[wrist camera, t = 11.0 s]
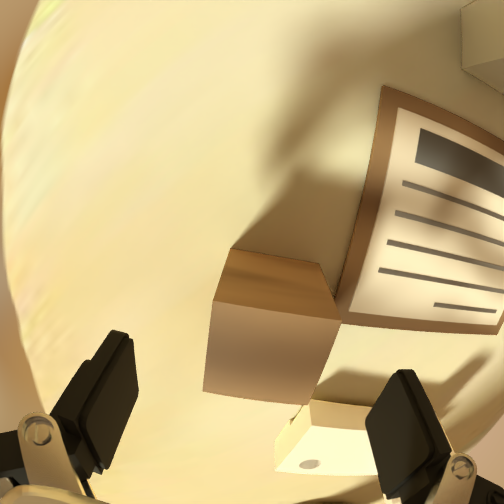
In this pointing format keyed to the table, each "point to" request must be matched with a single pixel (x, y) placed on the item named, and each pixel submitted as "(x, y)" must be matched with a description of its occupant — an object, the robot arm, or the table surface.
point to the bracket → (328, 442)
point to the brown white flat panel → (427, 225)
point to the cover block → (484, 41)
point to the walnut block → (269, 329)
